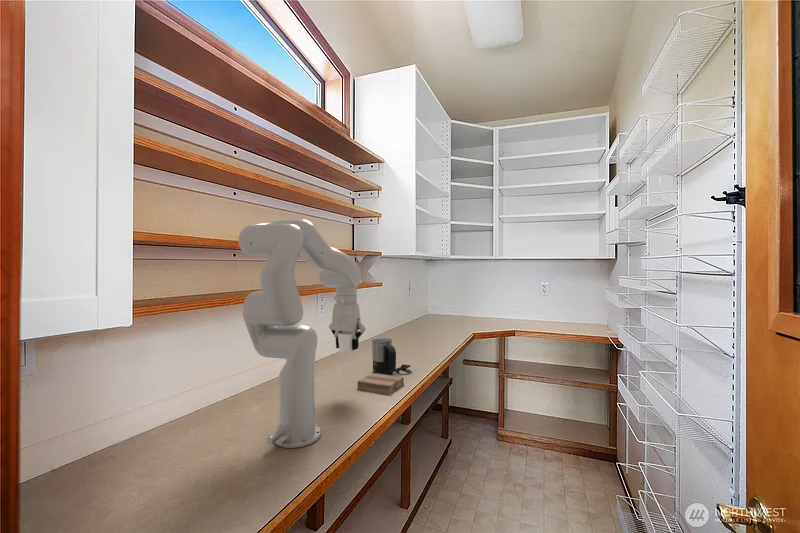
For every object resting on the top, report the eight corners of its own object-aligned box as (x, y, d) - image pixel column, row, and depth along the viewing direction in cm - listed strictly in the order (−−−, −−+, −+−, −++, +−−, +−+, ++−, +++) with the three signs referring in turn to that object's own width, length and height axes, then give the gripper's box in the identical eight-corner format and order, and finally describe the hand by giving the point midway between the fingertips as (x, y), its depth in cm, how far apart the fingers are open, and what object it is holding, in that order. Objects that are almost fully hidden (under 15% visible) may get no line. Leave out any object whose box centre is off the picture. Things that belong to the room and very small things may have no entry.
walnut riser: (389, 394, 134) (389, 386, 134) (357, 389, 141) (357, 381, 141) (403, 384, 145) (403, 377, 145) (373, 380, 151) (373, 372, 151)
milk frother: (367, 374, 160) (367, 340, 160) (390, 366, 172) (389, 334, 172) (392, 380, 151) (392, 344, 151) (414, 371, 163) (414, 338, 163)
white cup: (355, 353, 131) (354, 333, 131) (336, 353, 131) (335, 334, 131) (357, 348, 138) (357, 330, 138) (339, 349, 138) (339, 330, 138)
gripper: (321, 300, 135) (321, 348, 135) (361, 301, 127) (361, 353, 127) (333, 298, 141) (334, 344, 141) (371, 299, 134) (372, 348, 134)
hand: (347, 348), depth 134 cm, fingers closed on white cup, 6 cm apart
